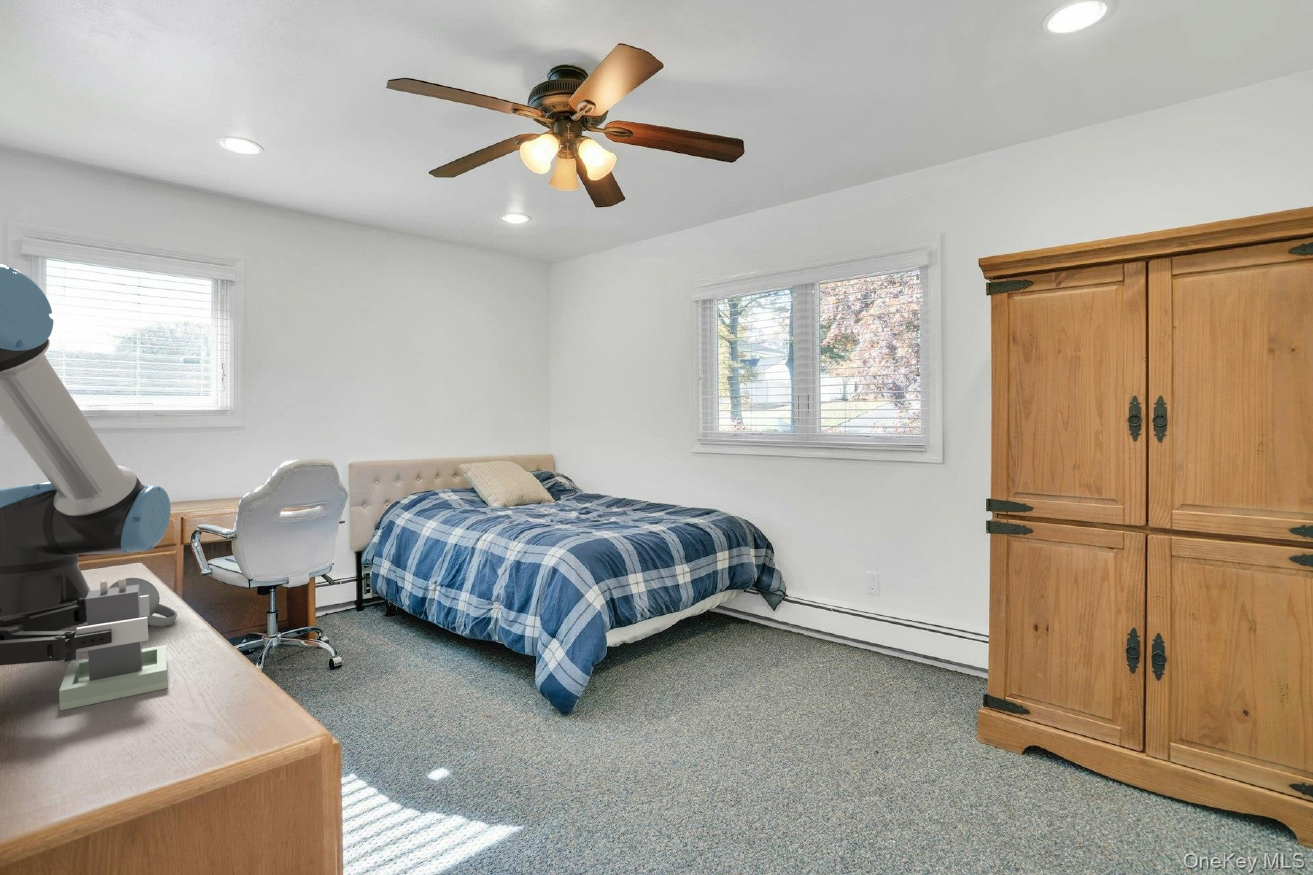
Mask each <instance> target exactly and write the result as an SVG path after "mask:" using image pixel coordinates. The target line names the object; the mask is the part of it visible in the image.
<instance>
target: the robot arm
mask: <svg viewBox="0 0 1313 875" xmlns="http://www.w3.org/2000/svg"><path fill="white" fill-rule="evenodd" d="M51 314H53V311H52V307H51V304H50V302H49V300H48V298H47V296H46V294H45V293H44V291H43V290H42V288H41V287H40V286H39V285H38V284H37V283H36V282H35V281H34V280H33V279H32V278H30V276H28V275H26V274H25V273H24V272H22V271H20V270H18V269H15V268H14V267H10V266H7V265H4V264H2V263H1V264H0V419H1V420H2V421H3V422H4V423H5V425H6V426H7V427H8V429H9V430H10V432H11V433H12V434H13V435H14V437H15V438H16V439H17V441H18V442H19V444H21V446H22V447H23V449H24V450H25V451H26V453H27V454H28V455H29V456H30V457H31V459H32V460H33V462H34V463H35V464H36V466H37V467H38V468H39V469H40V471H41V472H42V473H43V475H44V476H45V477H46V479H47V480H48V481H49V482H48V481H47V482H43V483H42V482H41V483H35V484H27V485H26V484H25V485H19V486H13V487H7V488H1V489H0V666H9V665H12V666H13V665H22V664H23V665H24V664H35V663H36V664H38V663H47V662H61V661H63V662H64V663H68V662H69V663H70V662H72V661H77V653H83V652H88V650H94V649H100V648H106V647H111V646H117V645H123V644H129V643H135V642H141V643H142V642H147V641H149V625H148V620H147V617H143V616H149V615H150V614H149V595H144V596H139V597H140V617H142V618H136V619H129V620H123V621H116V622H110V623H103V624H97V625H90V626H87V625H86V626H79V625H84V624H87V616H86V597H87V595H88V593H89V591H92V590H91V588H90V587H89V586H90V585H88V582H87V581H86V579H85V577H84V574H83V572H82V571H81V568H80V566H79V565H80V564H79V555H102V554H103V555H104V554H106V555H109V554H126V555H127V554H130V553H137V552H146V551H149V550H151V549H153V548H155V547H156V546H157V545H158V544H159V543H160V542H161V541H162V539H163V537H164V536H165V534H166V533H167V531H168V527H169V524H170V520H171V519H170V518H171V513H172V512H171V510H172V508H171V501H170V497H169V494H168V493H167V491H166V490H165V489H164V488H163V487H161V486H159V485H154V484H148V485H144V484H142V482H141V480H140V479H139V478H138V477H137V475H136V473H135V472H134V471H133V470H132V469H131V468H129V467H127V466H123V465H117V464H116V462H115V460H114V459H113V457H112V456H111V454H110V453H109V451H108V450H107V448H106V447H105V446H104V444H103V442H102V441H101V439H100V438H99V436H98V435H97V433H96V432H95V430H94V429H93V427H92V426H91V424H90V422H89V421H88V419H87V417H85V415H84V413H83V411H81V409H80V407H79V406H78V404H77V403H76V401H75V400H74V398H73V396H72V395H71V393H70V392H69V391H68V389H67V388H66V386H65V384H64V383H63V381H62V380H61V378H60V377H59V375H58V374H57V372H56V371H55V370H54V368H53V366H52V365H51V363H50V362H49V360H48V359H47V357H46V356H45V354H46V352H47V351H48V349H49V347H50V344H51V343H50V339H49V337H50V336H51V335H52V332H53V328H54V319H53V318H51V317H50V315H51ZM75 626H79V627H76V629H75V631H73V630H64V629H69V628H72V627H75Z"/></svg>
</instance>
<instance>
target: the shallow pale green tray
mask: <svg viewBox="0 0 1313 875" xmlns="http://www.w3.org/2000/svg"><path fill="white" fill-rule="evenodd" d="M167 659H168V658H167V644H164V645H159V646H152V647H148V648H142V665H143V668H142V671H140V672H135V673H130V674H125V675H119V676H114V677H109V678H104V679H99V680H94V681H89V660H88V658H85V659H78V660H73V661H69V664H68V667H67V669H66V672H65V674H64V677H63V679H62V682H61V685H60V687H59V690H58V692H59V693H58V696H59V699H58V700H59V711H60V712H61V711H64V710H70V709H75V708H79V707H84V706H88V705H93V704H97V703H103V702H108V701H112V700H113V701H114V700H117V699H122V698H127V697H133V696H137V695H142V694H146V693H150V692H151V693H152V692H156V691H160V690H165V689H168V687H169V686H168V660H167Z"/></svg>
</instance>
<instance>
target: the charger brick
mask: <svg viewBox="0 0 1313 875" xmlns="http://www.w3.org/2000/svg"><path fill="white" fill-rule="evenodd" d="M118 581H119V587H116V588H109V587H108V586H109V585H108V580H101V581H100V582H99V588H100V589H95V590H91V591H89V593H88V595H87V597H86V616H87V622H86V626H90V625H97V624H103V623H110V622H116V621H123V620H129V619H136V618H140V597H139V585H131V586H126V578H118ZM142 644H143V643H142V641H141V642H135V643H129V644H123V645H117V646H111V647H106V648H100V649H94V650H88V651H87V655H88V656H87V657H88V658H87V659H88V660H89V681H94V680H99V679H104V678H109V677H114V676H119V675H125V674H130V673H135V672H140V671H142V668H143V665H142V649H143V647H142Z"/></svg>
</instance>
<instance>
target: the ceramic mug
mask: <svg viewBox="0 0 1313 875" xmlns="http://www.w3.org/2000/svg"><path fill="white" fill-rule="evenodd" d="M125 579H126V586H131V585H139V596H144V595H149V614H150V615H149V616H143V617H147V620H148V626H153V627H169V626H172V625H173V624H175V623H174V622H176V619H177V617H178V613H177V611H175V610H174V609H173V608H171V607H168V606H167V605H164V604H160V600H161V598H160V593H159V590H158V589H157V588H156V586H155V585H153V583H151V582H150V581H149V580H146V579H143V578H139V577H126V578H125ZM116 587H119V580H117V581H116V582H114V583H112V584H111V585H110V586H109V587H108V588H116ZM154 614H157V615H160V616H156V615H154ZM162 616H163V617H162ZM140 618H142V617H140ZM171 624H172V625H171Z"/></svg>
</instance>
